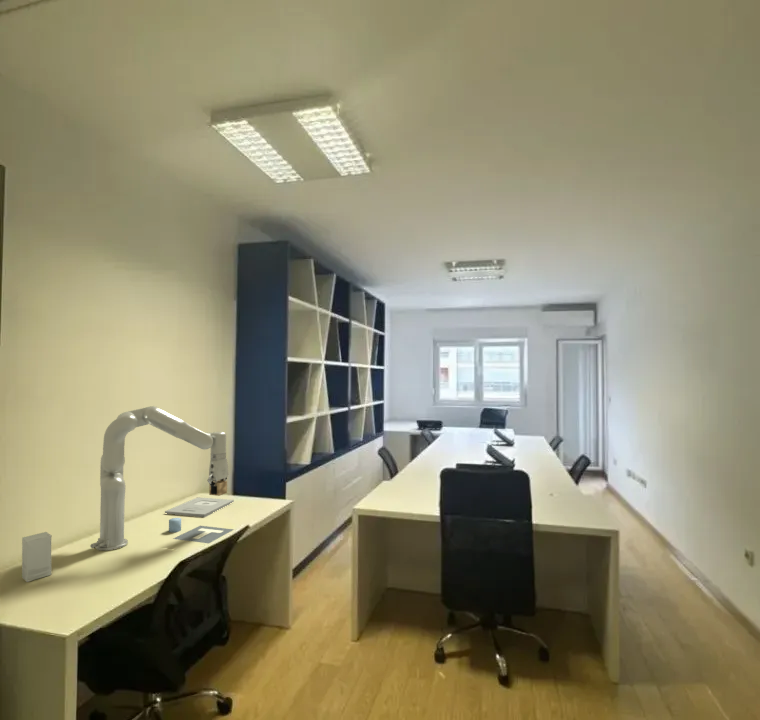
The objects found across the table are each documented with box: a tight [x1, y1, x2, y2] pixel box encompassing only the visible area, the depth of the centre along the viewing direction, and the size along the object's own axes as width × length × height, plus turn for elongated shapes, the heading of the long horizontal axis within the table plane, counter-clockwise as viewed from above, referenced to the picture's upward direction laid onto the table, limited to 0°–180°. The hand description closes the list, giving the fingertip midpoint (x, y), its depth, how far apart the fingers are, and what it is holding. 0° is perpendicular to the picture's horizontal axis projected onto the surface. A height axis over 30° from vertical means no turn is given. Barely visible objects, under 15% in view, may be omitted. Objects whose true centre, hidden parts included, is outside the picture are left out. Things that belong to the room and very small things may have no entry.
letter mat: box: [172, 525, 235, 544], centre depth 228 cm, size 20×20×1 cm
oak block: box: [208, 480, 228, 497], centre depth 239 cm, size 6×6×6 cm
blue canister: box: [168, 517, 182, 533], centre depth 233 cm, size 6×6×6 cm
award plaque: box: [164, 497, 235, 518], centre depth 273 cm, size 25×30×2 cm
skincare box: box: [21, 531, 52, 583], centre depth 182 cm, size 8×7×16 cm
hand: (218, 491), depth 239 cm, fingers closed on oak block, 6 cm apart
